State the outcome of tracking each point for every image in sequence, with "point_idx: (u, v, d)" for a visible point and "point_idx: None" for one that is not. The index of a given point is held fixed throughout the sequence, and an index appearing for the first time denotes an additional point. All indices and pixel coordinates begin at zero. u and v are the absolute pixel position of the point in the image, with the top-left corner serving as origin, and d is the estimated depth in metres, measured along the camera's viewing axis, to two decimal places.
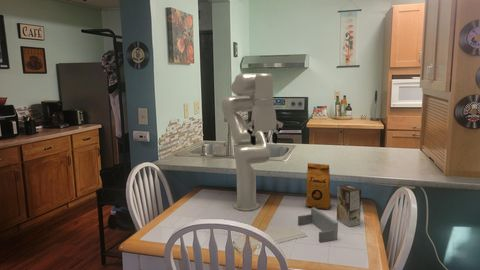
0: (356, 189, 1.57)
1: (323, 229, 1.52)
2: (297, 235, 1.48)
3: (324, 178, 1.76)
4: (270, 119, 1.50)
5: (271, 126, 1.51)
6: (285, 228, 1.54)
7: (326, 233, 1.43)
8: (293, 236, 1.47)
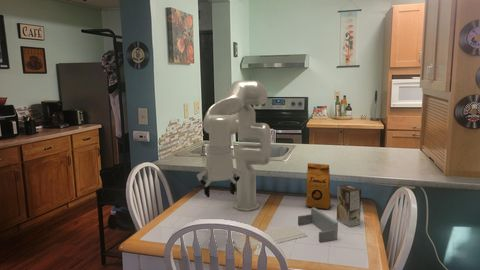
0: (356, 189, 1.57)
1: (323, 229, 1.52)
2: (297, 235, 1.48)
3: (324, 178, 1.76)
4: (226, 168, 1.34)
5: (228, 176, 1.35)
6: (285, 228, 1.54)
7: (326, 233, 1.43)
8: (293, 236, 1.47)
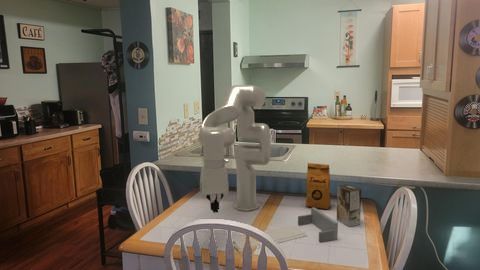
0: (356, 189, 1.57)
1: (323, 229, 1.52)
2: (297, 235, 1.48)
3: (324, 178, 1.76)
4: (221, 182, 1.33)
5: (222, 189, 1.33)
6: (285, 228, 1.54)
7: (326, 233, 1.43)
8: (293, 236, 1.47)
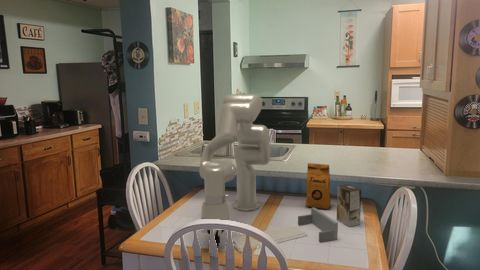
0: (356, 189, 1.57)
1: (323, 229, 1.52)
2: (297, 235, 1.48)
3: (324, 178, 1.76)
4: (221, 217, 1.35)
5: None
6: (285, 228, 1.54)
7: (326, 233, 1.43)
8: (293, 236, 1.47)
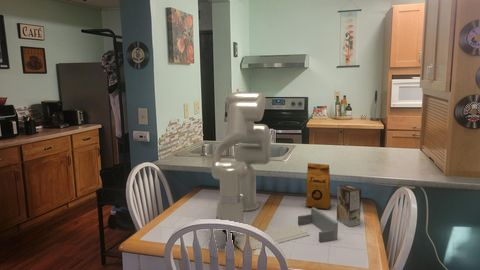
0: (356, 189, 1.57)
1: (323, 229, 1.52)
2: (299, 234, 1.48)
3: (324, 178, 1.76)
4: (236, 216, 1.37)
5: None
6: (287, 227, 1.55)
7: (326, 233, 1.43)
8: (295, 235, 1.47)
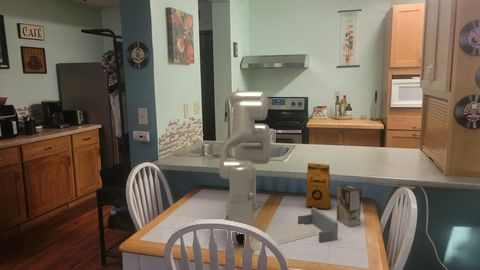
0: (356, 189, 1.57)
1: (323, 229, 1.52)
2: (308, 233, 1.49)
3: (324, 178, 1.76)
4: (246, 215, 1.38)
5: (247, 222, 1.39)
6: (295, 226, 1.56)
7: (326, 233, 1.43)
8: (304, 234, 1.48)
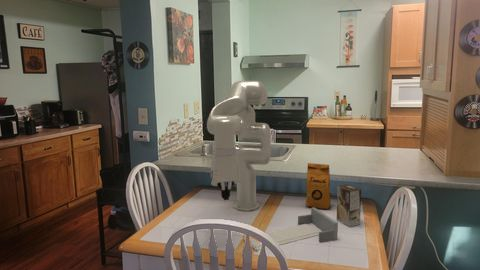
0: (356, 189, 1.57)
1: (323, 229, 1.52)
2: (311, 233, 1.49)
3: (324, 178, 1.76)
4: (231, 169, 1.34)
5: (233, 177, 1.35)
6: (298, 227, 1.55)
7: (326, 233, 1.43)
8: (307, 234, 1.48)
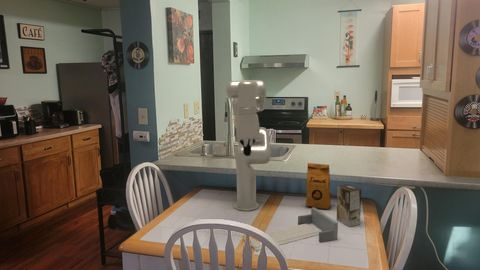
0: (356, 189, 1.57)
1: (323, 229, 1.52)
2: (311, 233, 1.49)
3: (324, 178, 1.76)
4: (253, 128, 1.49)
5: (254, 135, 1.50)
6: (298, 226, 1.56)
7: (326, 233, 1.43)
8: (307, 234, 1.48)
